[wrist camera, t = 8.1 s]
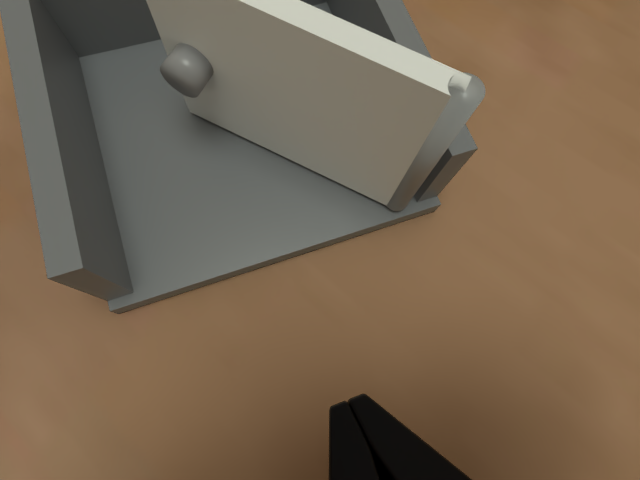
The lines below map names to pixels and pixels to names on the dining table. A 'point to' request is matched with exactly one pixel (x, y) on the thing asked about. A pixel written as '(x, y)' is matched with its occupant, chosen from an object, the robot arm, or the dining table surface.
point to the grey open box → (170, 159)
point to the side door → (316, 90)
